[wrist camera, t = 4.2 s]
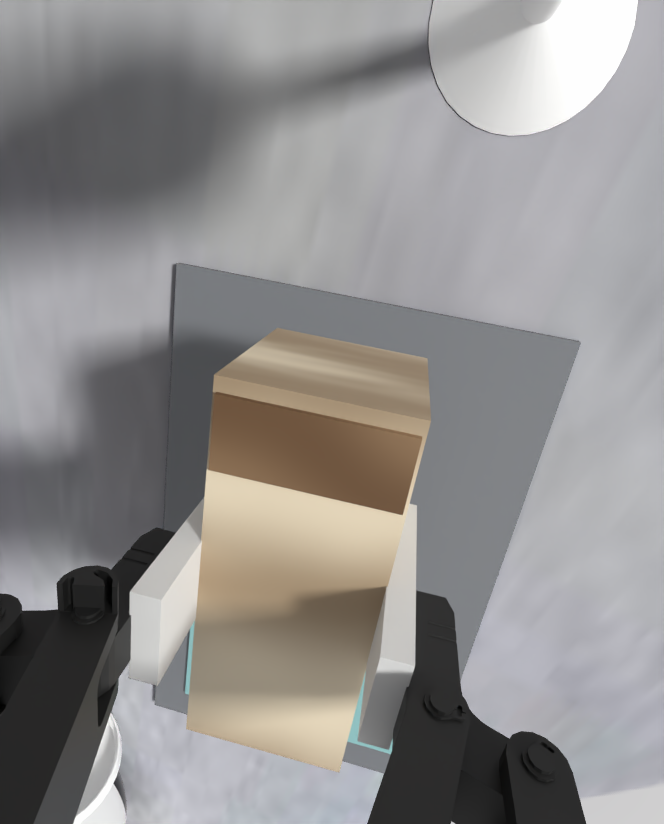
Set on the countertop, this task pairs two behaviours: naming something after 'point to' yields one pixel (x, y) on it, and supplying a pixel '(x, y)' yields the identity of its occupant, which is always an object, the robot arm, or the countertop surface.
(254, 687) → the birch block
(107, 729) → the spread jar
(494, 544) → the rubber mat
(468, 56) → the champagne flute
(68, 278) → the countertop surface
